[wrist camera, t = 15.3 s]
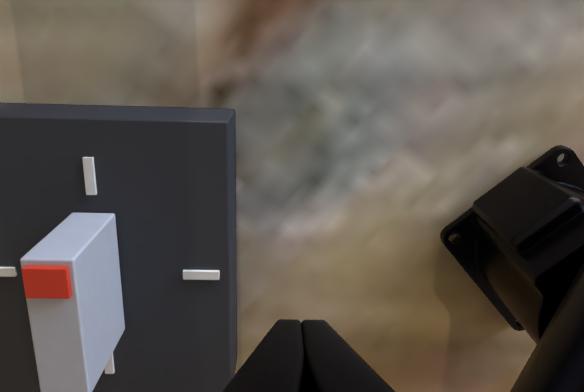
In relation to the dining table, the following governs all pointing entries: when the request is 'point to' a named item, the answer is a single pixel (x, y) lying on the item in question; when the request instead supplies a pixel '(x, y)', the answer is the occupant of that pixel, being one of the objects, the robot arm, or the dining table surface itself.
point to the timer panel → (129, 234)
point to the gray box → (74, 301)
